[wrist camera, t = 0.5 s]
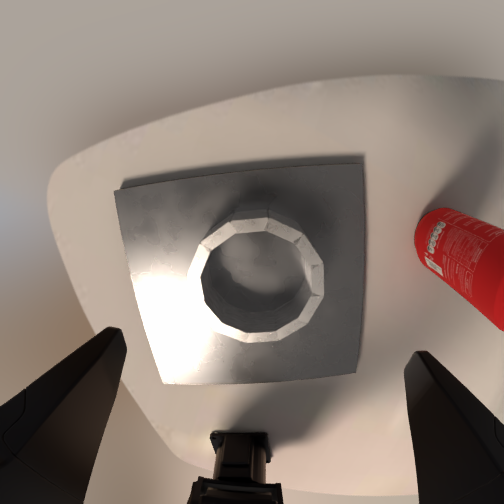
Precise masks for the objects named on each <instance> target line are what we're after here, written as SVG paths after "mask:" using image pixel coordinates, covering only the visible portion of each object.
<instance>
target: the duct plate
mask: <svg viewBox="0 0 504 504" xmlns="http://www.w3.org/2000/svg"><path fill="white" fill-rule="evenodd" d="M114 196H115V202H116V208H117V214H118V219H119V224H120V230H121V235H122V240H123V244H124V249H125V254H126V258H127V263H128V267H129V271H130V275H131V279H132V283H133V287H134V291H135V295H136V299H137V302H138V306H139V310H140V313H141V317H142V320H143V323H144V327H145V330H146V333H147V337H148V340H149V343H150V346H151V349H152V352H153V355H154V358H155V361H156V364H157V367H158V370H159V373H160V375H161V378H162V381H163V384H249V383H267V382H281V381H292V380H303V379H312V378H321V377H329V376H336V375H343V374H350V373H356V368H357V360H358V351H359V341H360V330H361V317H362V302H363V283H364V189H363V170H362V164H359V163H353V164H328V165H310V166H295V167H282V168H270V169H259V170H249V171H239V172H230V173H222V174H214V175H206V176H198V177H191V178H184V179H177V180H171V181H164V182H158V183H152V184H146V185H141V186H135V187H130V188H124V189H119V190H116V191H114Z"/></svg>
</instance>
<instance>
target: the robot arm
mask: <svg viewBox="0 0 504 504" xmlns="http://www.w3.org/2000/svg"><path fill="white" fill-rule="evenodd" d="M126 353H127V347H126V343H125V340H124V336H123V333H122V330H121V329H119V328H115V327H107V328H105V329H104V330H102V331H101V332H100V333H98V334H97V335H96V336H94V337H93V338H91V339H90V340H89V341H88V342H86V343H85V344H83V345H82V346H81V347H79V348H78V349H77V350H75V351H74V352H73V353H71V354H70V355H68V356H67V357H66V358H64V359H63V360H62V361H61V362H60V363H58V364H56V365H55V366H54V367H53V368H51V369H50V370H49V371H47V372H46V373H44V374H43V375H42V376H41V377H39V378H38V379H37V380H35V381H34V382H33V383H31V384H30V385H29V386H28V387H26V389H23V390H22V391H21V392H20V393H18V394H17V395H16V396H14V397H13V398H12V399H10V400H9V401H7V402H6V403H4V404H3V405H2V406H0V504H83V501H84V499H85V494H86V491H87V487H88V484H89V480H90V476H91V473H92V469H93V466H94V463H95V459H96V456H97V453H98V449H99V446H100V443H101V440H102V437H103V434H104V430H105V427H106V424H107V421H108V418H109V415H110V413H111V410H112V407H113V404H114V401H115V398H116V395H117V391H118V387H119V382H120V378H121V374H122V370H123V366H124V362H125V358H126ZM404 379H405V389H406V400H407V411H408V418H409V424H410V430H411V436H412V443H413V450H414V457H415V465H416V473H417V483H418V494H419V504H504V425H503V424H502V423H501V422H500V421H499V419H498V418H497V417H495V416H494V415H493V414H492V413H491V411H490V410H489V409H488V408H486V407H485V406H484V405H483V404H482V403H481V402H480V401H479V400H478V399H477V398H476V397H475V396H474V395H473V394H472V393H471V392H470V391H469V390H468V389H467V388H466V387H465V386H464V385H463V384H462V383H461V382H460V381H459V380H458V379H457V378H456V377H455V376H454V375H453V374H451V373H450V372H449V371H448V370H447V369H446V368H445V367H444V366H443V365H442V364H441V363H440V362H439V361H438V360H437V359H435V358H434V357H433V356H432V355H431V354H430V353H429V352H428V351H416V352H415V353H414V354H413V355H412V357H411V359H410V360H409V362H408V363H407V365H406V367H405V369H404ZM210 440H211V443H212V445H213V448H214V451H215V454H216V461H215V467H214V474H213V479H209V478H204V477H201V476H199V477H198V481H196V482H193V485H192V490H191V494H190V497H189V500H188V502H187V504H283V497H282V489H281V483H275V484H266V463H270V462H271V457H270V449H269V441H268V434H267V433H212V434H210Z"/></svg>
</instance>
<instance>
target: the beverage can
mask: <svg viewBox="0 0 504 504" xmlns="http://www.w3.org/2000/svg"><path fill="white" fill-rule="evenodd" d="M414 244H415V248H416V251H417V254H418V257H419V259H420V261H421V262H422V263H423V265H424V266H426V267H427V268H428V269H430V270H431V271H432V272H433V273H435V274H436V275H437V276H438V277H440V278H441V279H442V280H443V281H445V282H446V283H447V284H448V285H449V286H451V287H452V288H453V289H454V290H455V291H457V292H458V293H459V294H460V295H461V296H463V297H464V298H465V299H466V300H467V301H468V302H470V303H471V304H472V305H473V306H474V307H475V308H477V309H478V310H479V311H480V312H481V313H482V314H483V315H484V316H486V317H487V318H488V319H489V320H490V321H491V322H492V323H493V324H494V325H495V326H497V327H498V328H499V329H500V330H502V331H504V230H503V229H501V228H498V227H496V226H494V225H491V224H489V223H486V222H484V221H481V220H479V219H476V218H474V217H471V216H469V215H466V214H463V213H461V212H458V211H455V210H453V209H450V208H439V209H436V210H434V211H431V212H429V213H427V214H426V215H424V216H423V217H422V219H421V220H420V221H419V223H418V225H417V227H416V230H415V234H414Z"/></svg>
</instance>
